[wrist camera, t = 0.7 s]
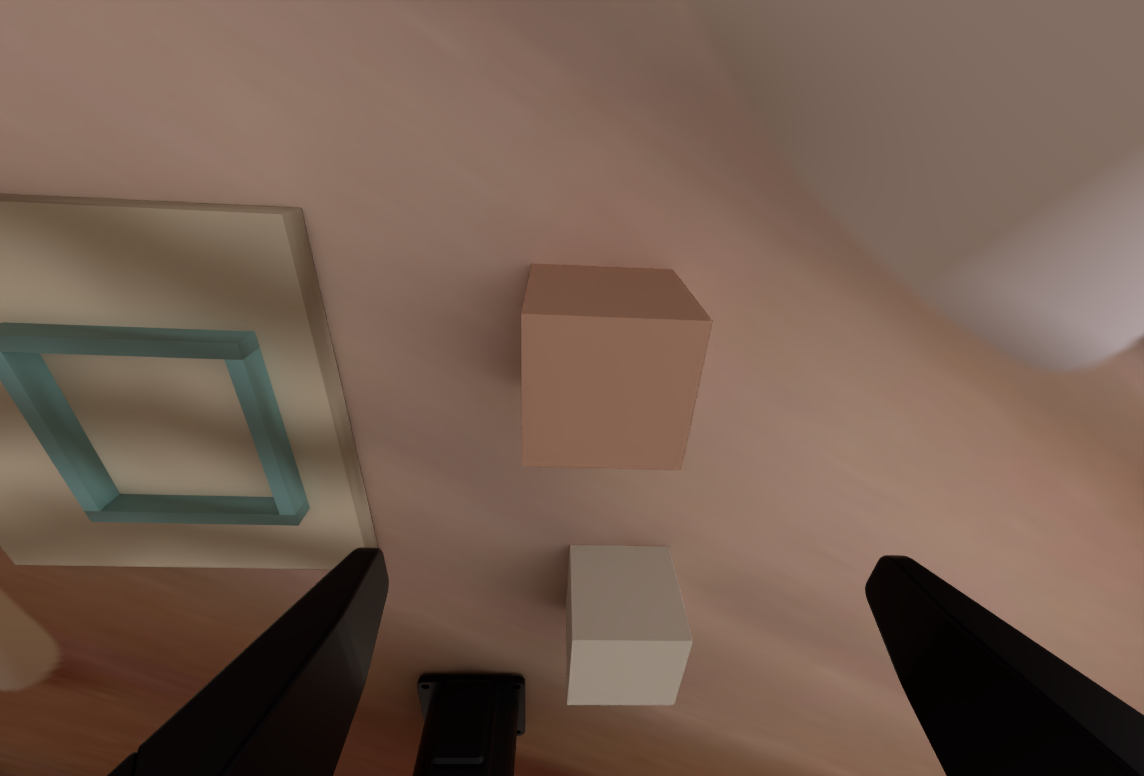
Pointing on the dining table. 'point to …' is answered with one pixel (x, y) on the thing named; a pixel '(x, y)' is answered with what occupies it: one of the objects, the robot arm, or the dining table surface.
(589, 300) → the terracotta block
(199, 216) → the base plate
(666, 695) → the cream block
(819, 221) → the dining table surface
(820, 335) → the dining table surface
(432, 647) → the dining table surface
